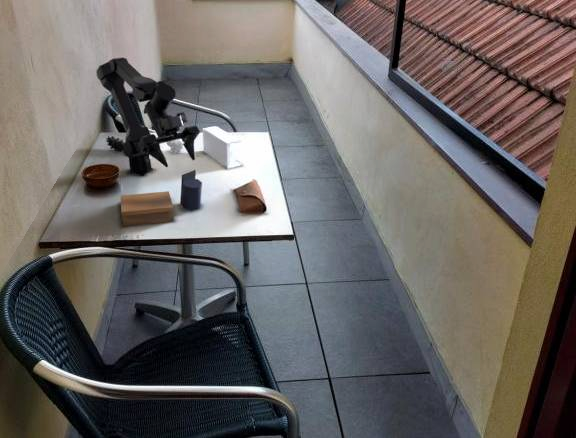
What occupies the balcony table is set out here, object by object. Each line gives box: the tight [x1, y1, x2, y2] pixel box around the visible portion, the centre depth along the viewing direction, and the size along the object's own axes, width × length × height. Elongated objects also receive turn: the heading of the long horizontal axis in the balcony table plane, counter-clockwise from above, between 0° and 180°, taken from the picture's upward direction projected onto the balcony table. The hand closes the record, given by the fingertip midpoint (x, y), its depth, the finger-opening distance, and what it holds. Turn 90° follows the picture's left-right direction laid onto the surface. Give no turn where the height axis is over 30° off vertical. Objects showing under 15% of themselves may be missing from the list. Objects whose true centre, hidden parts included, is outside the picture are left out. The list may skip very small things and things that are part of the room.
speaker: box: [179, 169, 203, 211], centre depth 163 cm, size 8×6×10 cm
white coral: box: [166, 139, 184, 154], centre depth 203 cm, size 7×8×6 cm
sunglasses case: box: [232, 178, 268, 215], centre depth 169 cm, size 18×7×7 cm
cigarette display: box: [202, 125, 242, 170], centre depth 198 cm, size 20×6×9 cm, turn 34°
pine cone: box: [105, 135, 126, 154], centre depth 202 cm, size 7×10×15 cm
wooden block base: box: [119, 190, 175, 227], centre depth 160 cm, size 15×14×4 cm
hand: (181, 163), depth 163 cm, fingers open, 9 cm apart
